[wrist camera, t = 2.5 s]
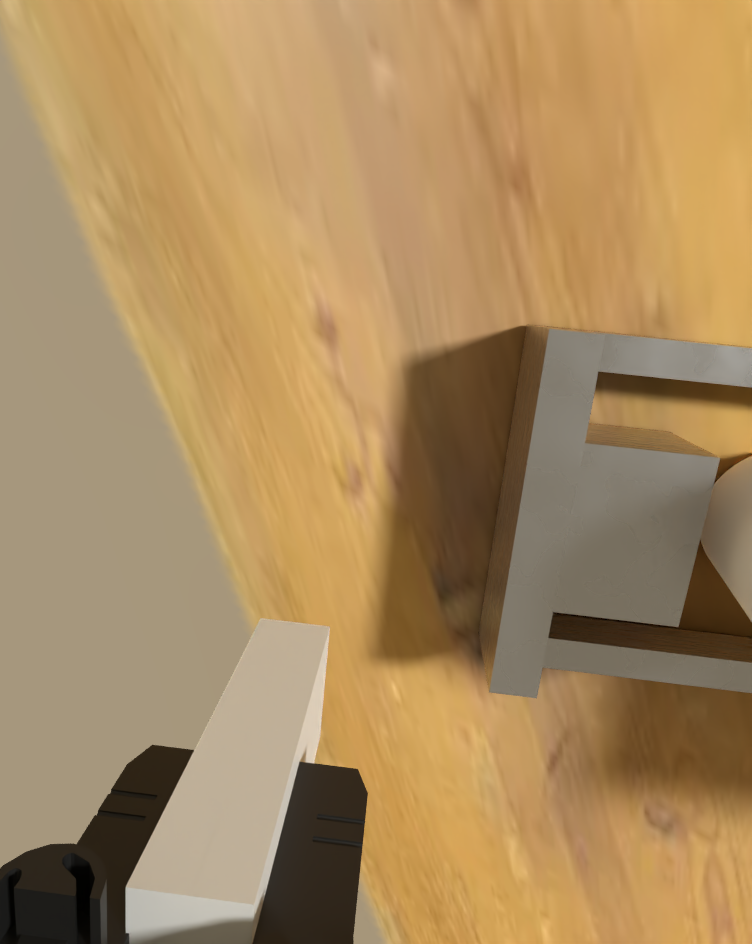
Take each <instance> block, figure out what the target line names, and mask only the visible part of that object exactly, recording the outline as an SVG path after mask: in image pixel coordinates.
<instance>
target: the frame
mask: <svg viewBox="0 0 752 944" xmlns="http://www.w3.org/2000/svg"><path fill="white" fill-rule="evenodd" d="M598 371H599V372H609V373H618V374H628V375H637V376H647V377H656V378H666V379H676V380H685V381H695V382H704V383H714V384H723V385H733V386H742V387H752V347H743V346H733V345H723V344H714V343H704V342H694V341H684V340H675V339H665V338H655V337H645V336H636V335H626V334H616V333H606V332H597V331H587V330H577V329H567V328H558V327H548V326H538V325H529V324H527V326H526V333H525V339H524V346H523V352H522V358H521V365H520V371H519V378H518V384H517V390H516V397H515V403H514V409H513V416H512V422H511V429H510V435H509V441H508V448H507V454H506V461H505V467H504V473H503V480H502V486H501V493H500V499H499V505H498V512H497V518H496V525H495V531H494V537H493V544H492V550H491V557H490V563H489V569H488V576H487V582H486V589H485V595H484V601H483V608H482V614H481V620H480V627H479V638H480V644H481V649H482V655H483V661H484V666H485V672H486V678H487V683H488V689H489V692H491V693H499V694H507V695H515V696H523V697H531V698H537V695H538V689H539V684H540V679H541V673H542V668H551V669H559V670H567V671H576V672H584V673H592V674H600V675H608V676H616V677H624V678H632V679H641V680H649V681H657V682H665V683H673V684H681V685H689V686H697V687H706V688H714V689H722V690H730V691H738V692H746V693H752V638H749V637H741V636H733V635H724V634H716V633H708V632H699V631H691V630H683V629H674V628H666V627H658V626H649V625H641V624H632V623H624V622H616V621H607V620H599V619H591V618H582V617H574V616H566V615H557V614H553V612H557V613H565V614H574V615H582V616H590V617H599V618H607V619H615V620H624V621H632V622H640V623H649V624H657V625H665V626H674V627H679V623H680V619H681V615H682V611H683V607H684V603H685V599H686V595H687V591H688V587H689V583H690V579H691V574H692V570H693V566H694V562H695V558H696V554H697V550H698V546H699V542H700V538H701V534H702V530H703V526H704V522H705V518H706V514H707V510H708V506H709V502H710V498H711V494H712V489H713V485H714V481H715V477H716V473H717V469H718V465H719V461H720V458H719V457H717V456H715V455H713V454H712V453H710V452H708V451H706V450H704V449H702V448H700V447H698V446H696V445H694V444H692V443H690V442H688V441H686V440H684V439H682V438H681V437H679V436H677V435H675V434H673V433H671V432H667V431H658V430H648V429H639V428H630V427H621V426H611V425H602V424H593V423H589V419H590V414H591V408H592V403H593V398H594V392H595V387H596V382H597V376H598Z"/></svg>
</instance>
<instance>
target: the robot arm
mask: <svg viewBox="0 0 752 944" xmlns="http://www.w3.org/2000/svg"><path fill="white" fill-rule="evenodd" d="M329 630H330V627H329V626H321V625H313V624H304V623H296V622H288V621H280V620H271V619H263V618H260V620H259V622H258V624H257V626H256V628H255V630H254V632H253V634H252V636H251V638H250V640H249V642H248V644H247V646H246V648H245V650H244V653H243V654H242V656H241V659H240V660H239V662H238V664H237V666H236V668H235V670H234V672H233V674H232V676H231V678H230V680H229V682H228V684H227V686H226V688H225V690H224V692H223V694H222V696H221V698H220V700H219V702H218V704H217V706H216V708H215V710H214V712H213V714H212V716H211V718H210V720H209V722H208V724H207V726H206V728H205V730H204V732H203V734H202V736H201V738H200V740H199V742H198V744H197V746H196V748H195V750H188V749H181V748H173V747H165V746H157V745H152V746H150V747H149V748H148V749H146V750H145V751H144V752H143V753H142V754H140V755H139V756H137V757H136V758H135V759H134V760H132V761H131V762H130V763H128V764H127V765H126V767H125V769H124V770H123V772H122V774H121V775H120V777H119V778H118V780H117V781H116V783H115V785H114V786H113V788H112V789H111V793H110V794H108V796H107V797H106V799H105V800H104V802H103V803H102V805H101V807H100V808H99V810H98V814H97V816H96V815H95V816H94V818H93V819H92V821H91V822H90V824H89V825H88V827H87V829H86V830H85V832H84V833H83V835H82V837H81V838H80V840H79V841H78V843H77V844H50V845H46V846H43V847H40V848H37V849H34V850H30V851H27V852H25V853H23V854H22V855H20V856H18V857H17V858H15V859H13V860H12V861H10V862H8V863H6V864H5V865H3V866H2V867H1V868H0V944H353V934H354V924H355V914H356V903H357V893H358V884H359V874H360V864H361V855H362V844H363V835H364V825H365V815H366V805H367V795H368V793H367V790H366V788H365V786H364V783H363V781H362V778H361V776H360V773H359V771H358V769H353V768H345V767H338V766H330V765H322V764H314V761H315V756H316V752H317V748H318V743H319V739H320V732H321V720H322V709H323V698H324V687H325V675H326V664H327V653H328V641H329Z"/></svg>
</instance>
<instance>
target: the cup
mask: <svg viewBox="0 0 752 944" xmlns="http://www.w3.org/2000/svg"><path fill="white" fill-rule="evenodd" d="M700 539H701V543H702V546H703V549H704V551H705V553H706V555H707V557H708V558H709V560H710V561H711V563H712V564H713V566H714V567H715V569H716V570H717V572H718V573H719V575H720V576H721V578H722V579H723V580H724V582H725V583H726V585H727V586H728V588H729V589H730V591H731V592H732V594H733V595H734V597H735V598H736V600H737V601H738V603H739V604H740V606H741V607H742V609H743V610H744V611H745V613H746V614H747V616H748V617H749V619H750V620H751V622H752V456H750V457H748V458H746V459H744V460H742V461H740V462H738V463H737V464H735V465H734V466H732V467H731V468H730V469H729V470H727V471H726V472H725V473H724V474H723V475H722V476H721V477H720V478H719V479H718V480H717V481H716V483H715V484H714V485H713V489H712V494H711V498H710V502H709V506H708V510H707V514H706V518H705V522H704V526H703V530H702V534H701V538H700Z"/></svg>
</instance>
